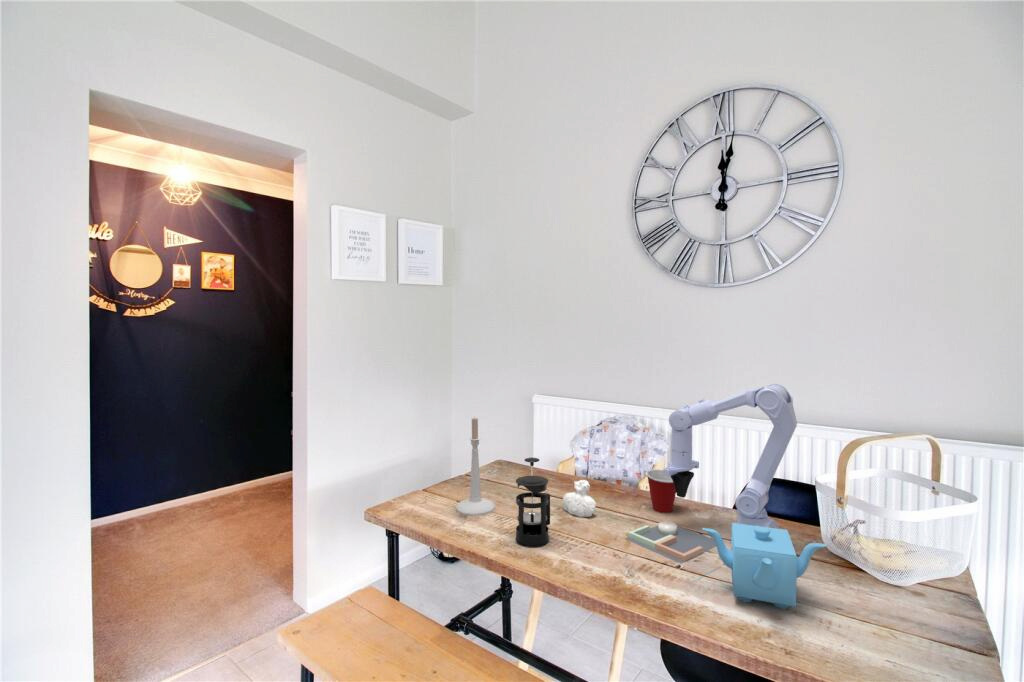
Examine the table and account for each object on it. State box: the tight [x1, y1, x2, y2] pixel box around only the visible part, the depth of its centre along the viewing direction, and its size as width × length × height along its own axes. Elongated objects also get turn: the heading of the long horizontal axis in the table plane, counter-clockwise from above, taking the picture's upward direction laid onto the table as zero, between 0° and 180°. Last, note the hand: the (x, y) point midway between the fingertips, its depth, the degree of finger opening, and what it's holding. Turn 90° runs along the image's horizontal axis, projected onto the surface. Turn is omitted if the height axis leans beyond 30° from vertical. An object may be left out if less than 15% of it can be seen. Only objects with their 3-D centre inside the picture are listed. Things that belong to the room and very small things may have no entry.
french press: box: [515, 457, 551, 549], centre depth 142 cm, size 12×9×23 cm
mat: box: [624, 525, 717, 564], centre depth 139 cm, size 18×19×1 cm
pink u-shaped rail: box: [655, 536, 703, 563], centre depth 133 cm, size 9×8×1 cm
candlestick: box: [455, 417, 496, 517], centre depth 166 cm, size 13×13×30 cm
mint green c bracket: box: [627, 524, 673, 549], centre depth 141 cm, size 9×8×1 cm
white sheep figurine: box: [562, 479, 597, 518], centre depth 162 cm, size 12×8×11 cm
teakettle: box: [701, 522, 828, 610], centre depth 113 cm, size 19×19×15 cm
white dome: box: [657, 521, 678, 536], centre depth 145 cm, size 5×5×2 cm
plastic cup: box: [645, 469, 677, 514], centre depth 162 cm, size 11×11×12 cm
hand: (681, 496), depth 149 cm, fingers closed
